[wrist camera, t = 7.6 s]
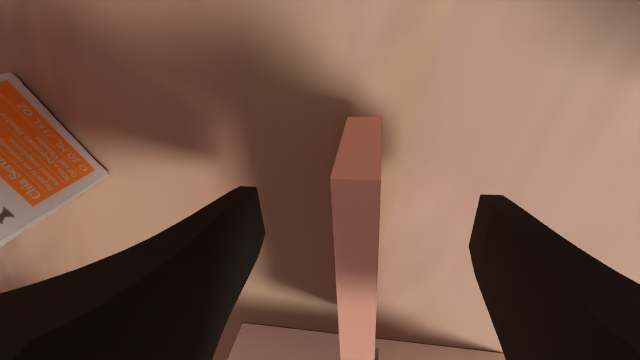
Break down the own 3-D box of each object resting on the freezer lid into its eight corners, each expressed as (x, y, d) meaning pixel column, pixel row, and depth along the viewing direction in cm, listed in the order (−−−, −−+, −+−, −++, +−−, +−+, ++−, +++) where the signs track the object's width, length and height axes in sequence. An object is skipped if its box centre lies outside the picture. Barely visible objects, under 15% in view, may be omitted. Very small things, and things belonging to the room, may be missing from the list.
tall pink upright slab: (380, 116, 11) (381, 180, 7) (374, 327, 17) (372, 423, 13) (347, 116, 11) (330, 178, 7) (352, 325, 17) (343, 418, 13)
